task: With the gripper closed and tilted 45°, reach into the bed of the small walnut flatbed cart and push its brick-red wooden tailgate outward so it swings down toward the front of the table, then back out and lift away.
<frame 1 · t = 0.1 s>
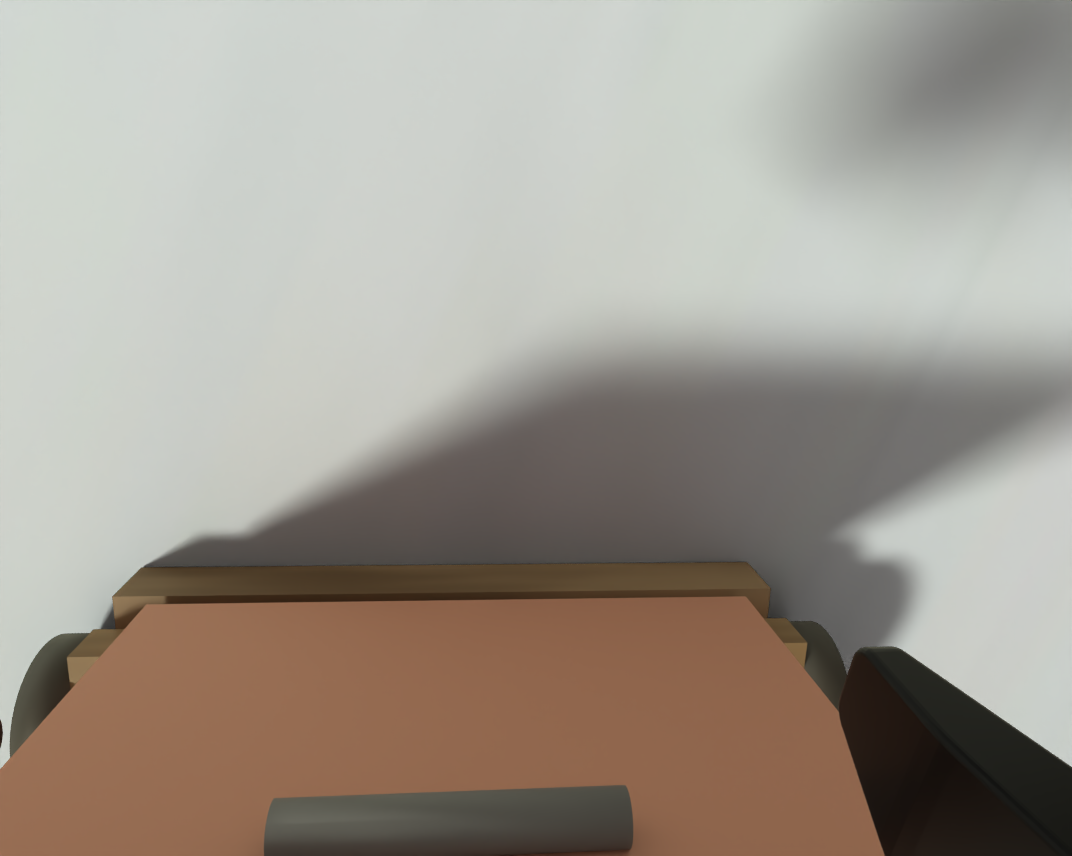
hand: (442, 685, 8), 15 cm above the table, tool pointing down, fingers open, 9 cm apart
cart bed: (454, 806, 26), on the table
tailgate: (455, 720, 17), point 8 cm above the table, hinge at 0.0°
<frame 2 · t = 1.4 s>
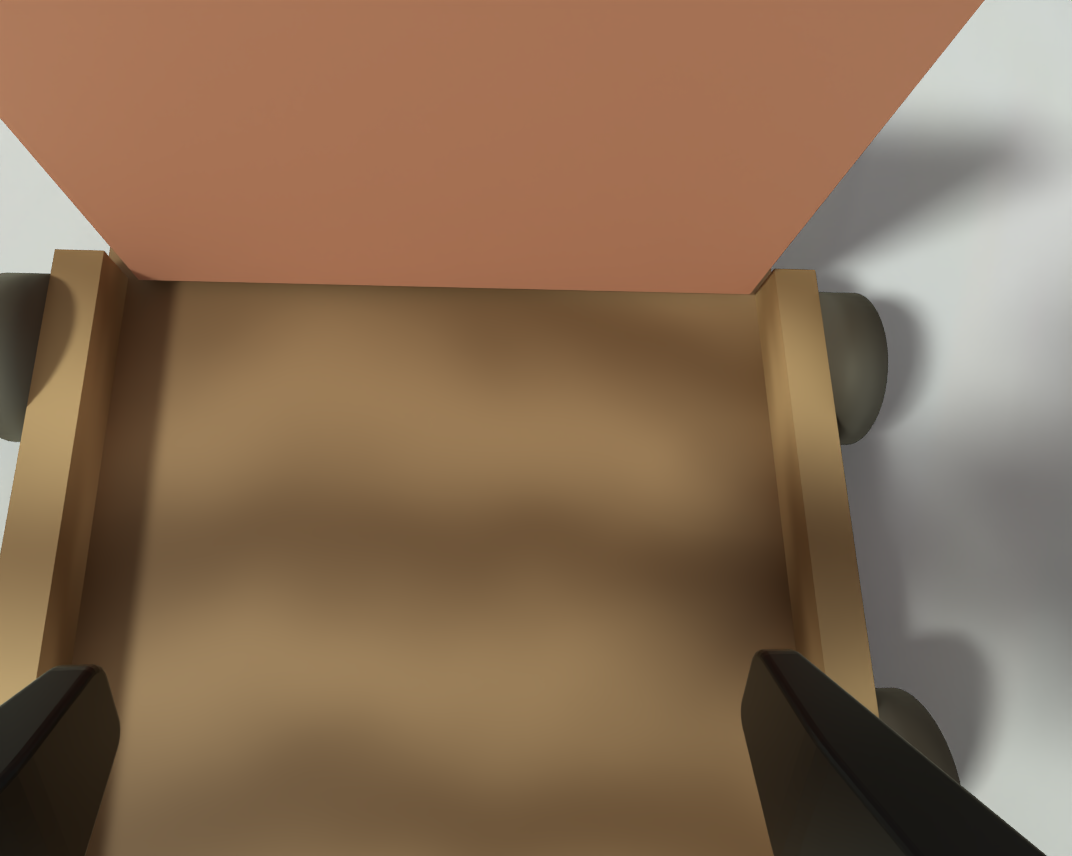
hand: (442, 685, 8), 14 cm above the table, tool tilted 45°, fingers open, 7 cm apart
cart bed: (452, 573, 22), on the table
tailgate: (455, 126, 17), point 8 cm above the table, hinge at 0.0°
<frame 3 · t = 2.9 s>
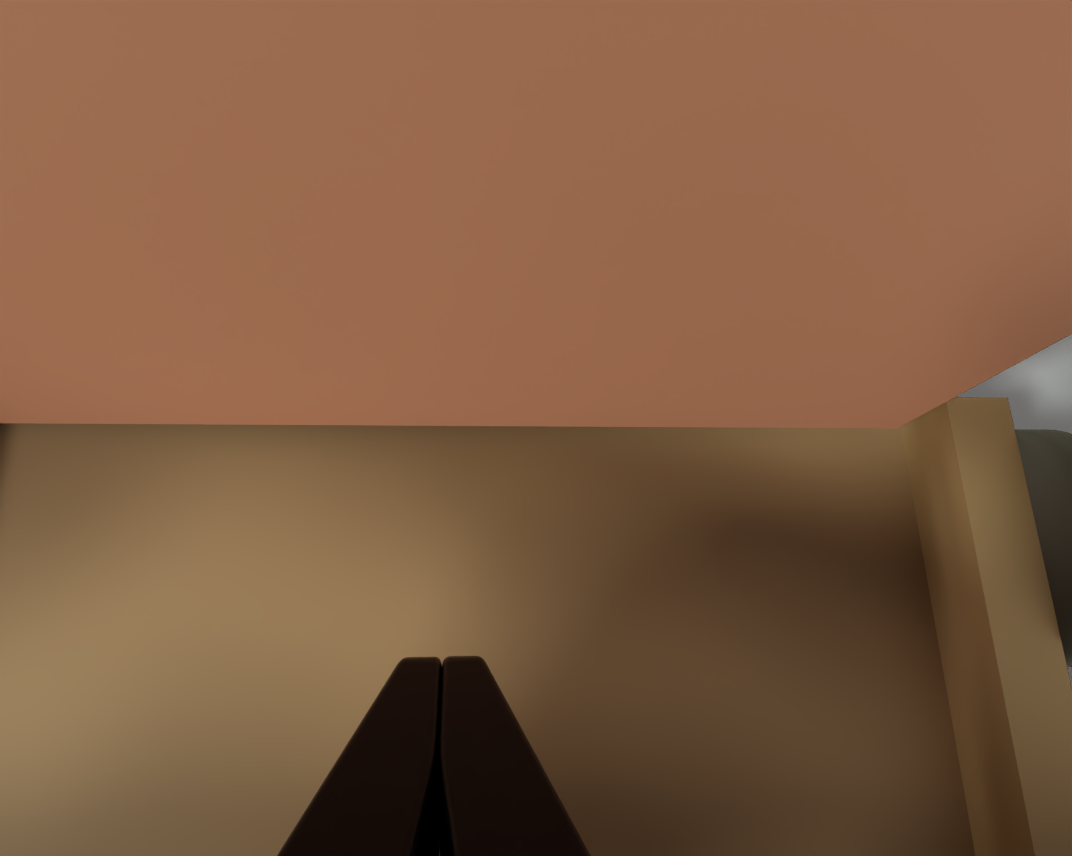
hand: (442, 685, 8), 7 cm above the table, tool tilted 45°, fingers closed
tailgate: (442, 199, 9), point 8 cm above the table, hinge at 0.0°
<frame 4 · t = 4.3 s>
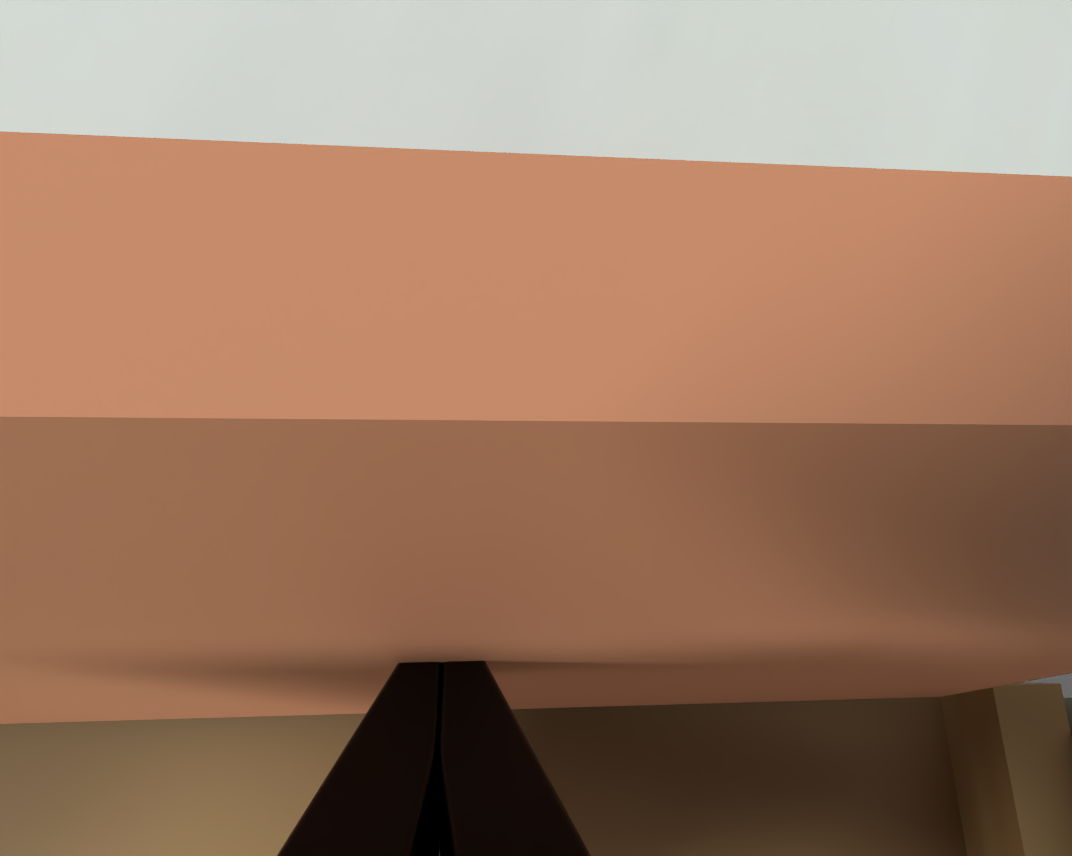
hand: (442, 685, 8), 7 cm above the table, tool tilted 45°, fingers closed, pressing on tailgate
tailgate: (439, 557, 8), point 8 cm above the table, hinge at 8.0°, touching gripper
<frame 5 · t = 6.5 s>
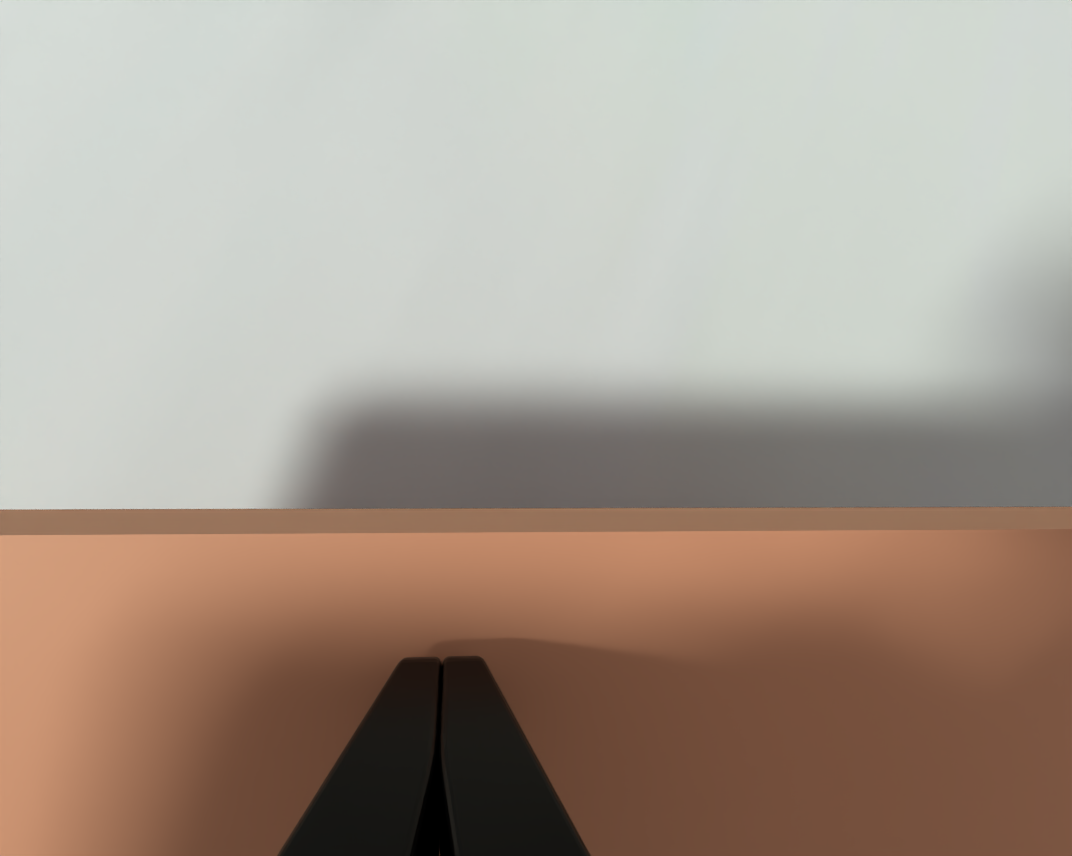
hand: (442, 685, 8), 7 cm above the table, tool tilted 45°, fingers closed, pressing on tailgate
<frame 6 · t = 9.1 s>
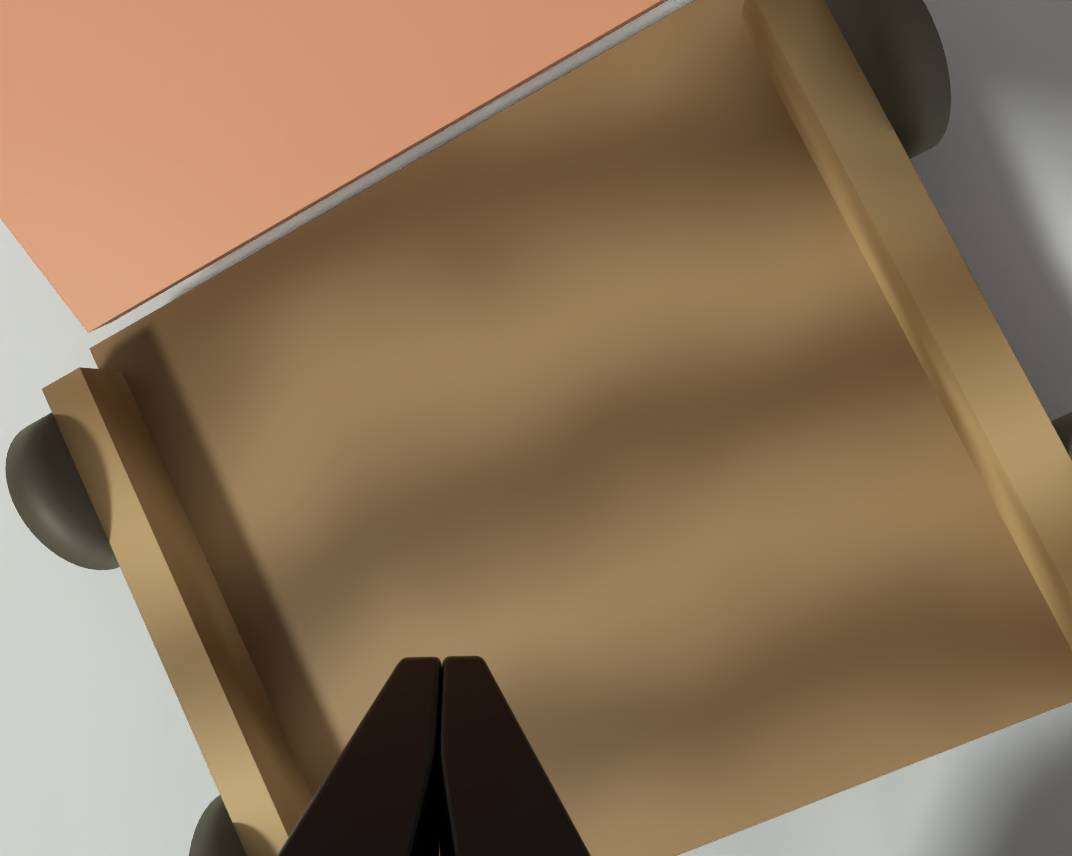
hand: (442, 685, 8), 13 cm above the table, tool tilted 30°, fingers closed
cart bed: (559, 489, 20), on the table
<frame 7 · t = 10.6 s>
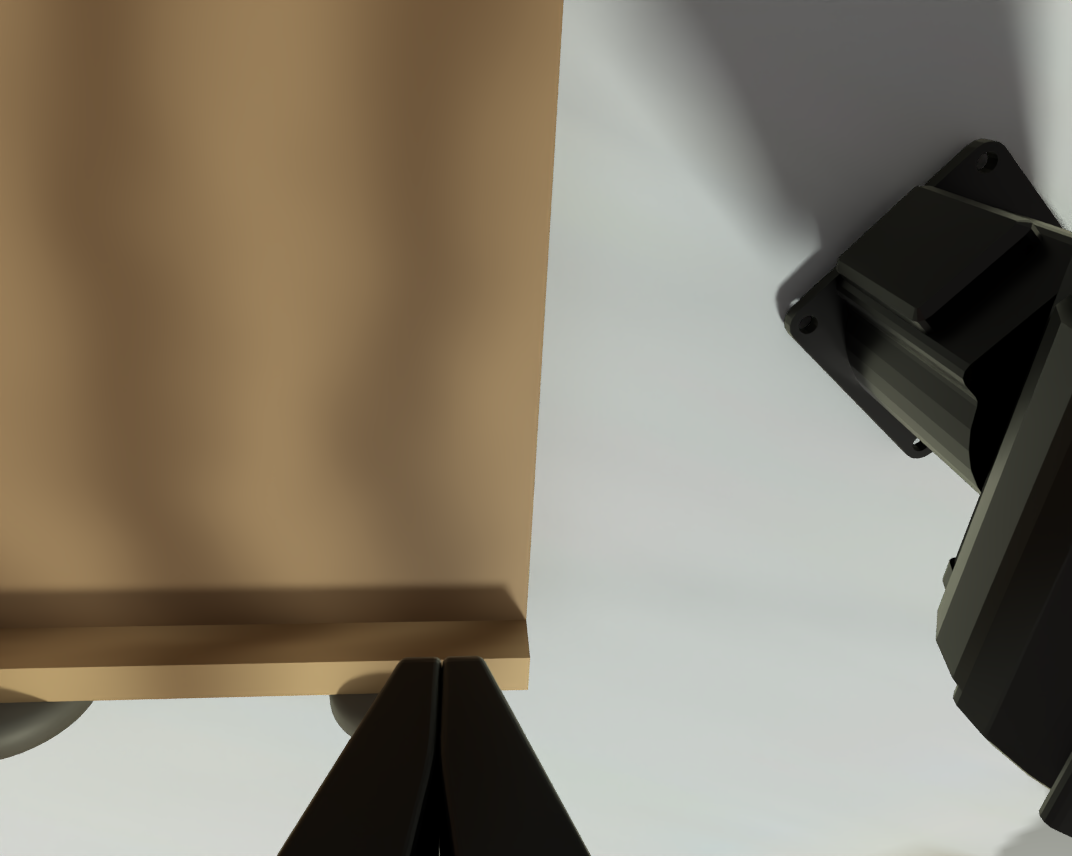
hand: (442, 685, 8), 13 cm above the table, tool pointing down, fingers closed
cart bed: (174, 291, 19), on the table
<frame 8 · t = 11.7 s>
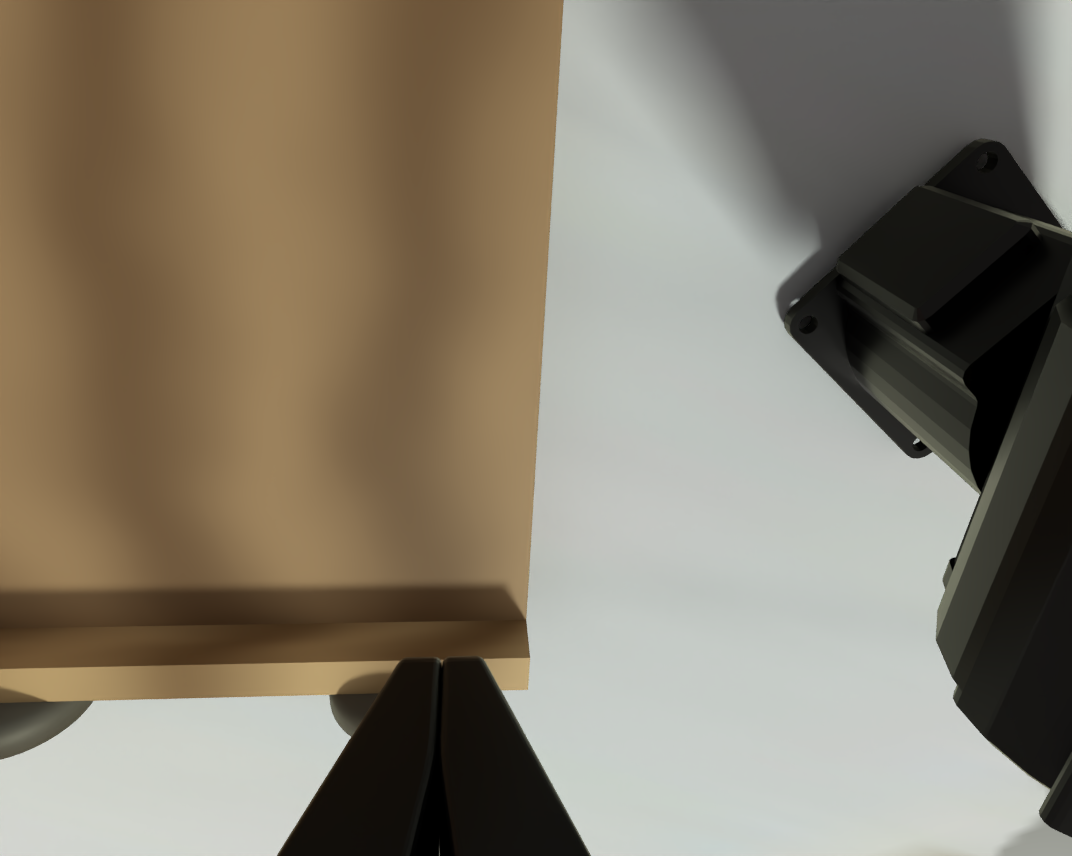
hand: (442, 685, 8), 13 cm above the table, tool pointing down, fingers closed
cart bed: (174, 291, 19), on the table
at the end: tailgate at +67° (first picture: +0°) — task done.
